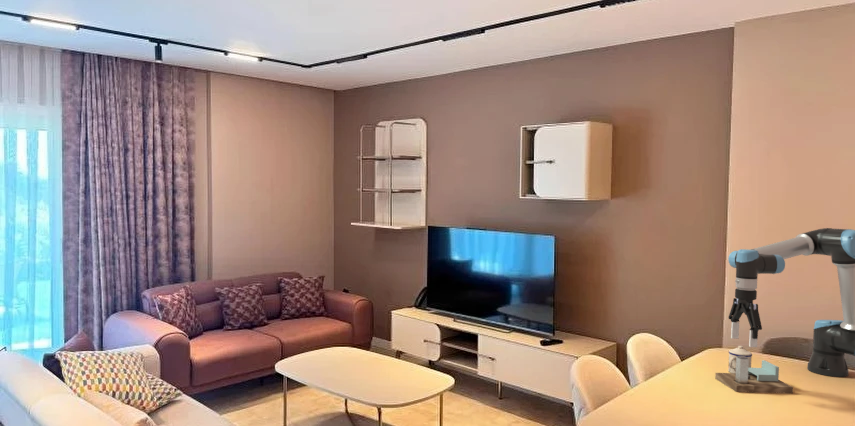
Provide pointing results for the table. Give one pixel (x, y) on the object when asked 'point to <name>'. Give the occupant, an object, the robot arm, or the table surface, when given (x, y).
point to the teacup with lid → (735, 353)
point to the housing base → (753, 384)
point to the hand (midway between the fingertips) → (743, 342)
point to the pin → (742, 370)
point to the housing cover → (765, 372)
